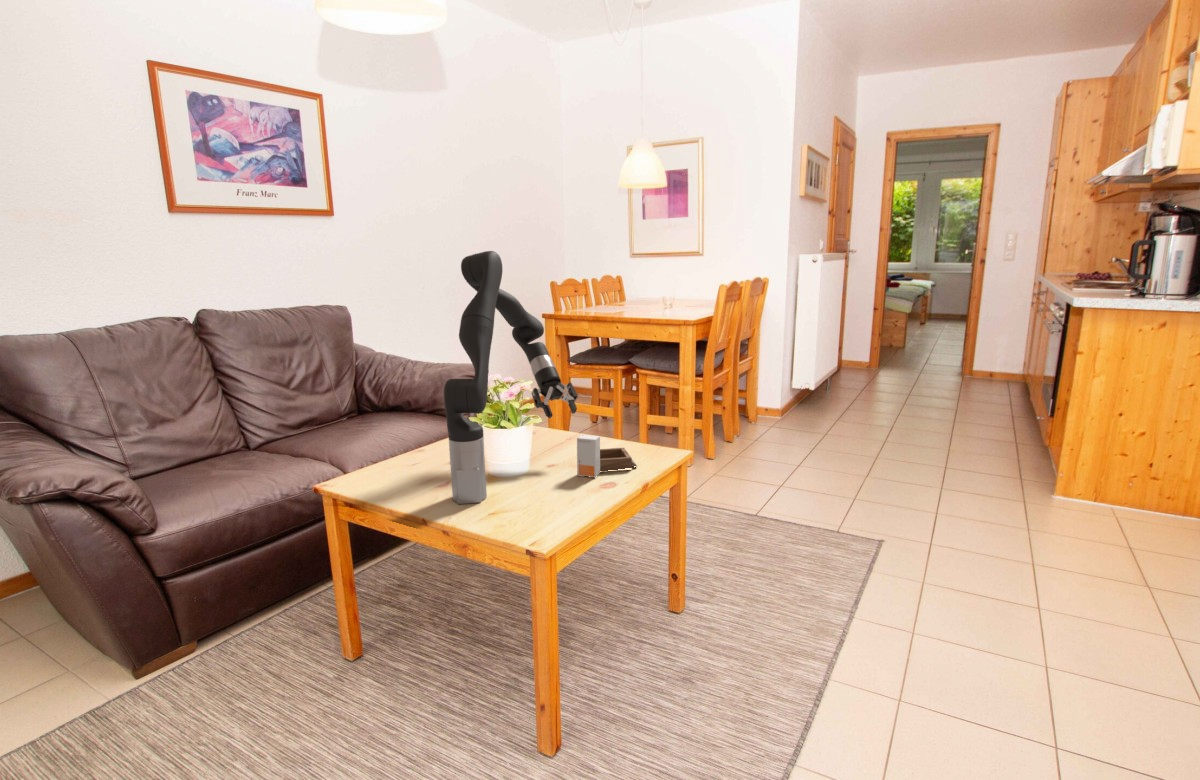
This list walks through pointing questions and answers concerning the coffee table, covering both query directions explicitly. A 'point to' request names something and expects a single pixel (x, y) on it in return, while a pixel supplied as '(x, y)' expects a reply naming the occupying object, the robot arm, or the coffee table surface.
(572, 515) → the coffee table surface
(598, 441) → the skincare box
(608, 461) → the box
